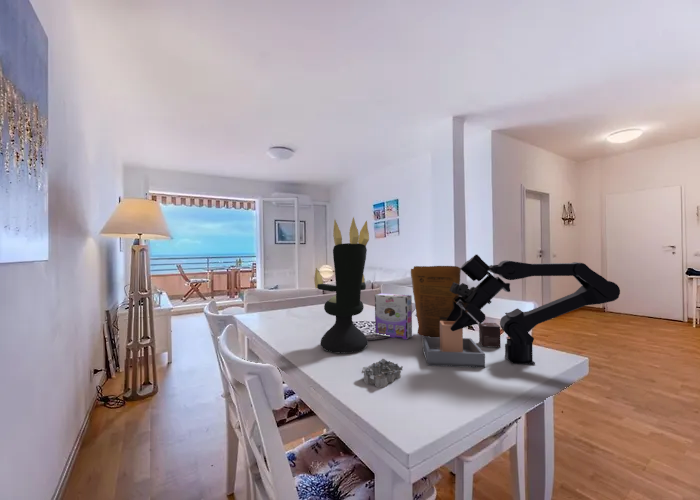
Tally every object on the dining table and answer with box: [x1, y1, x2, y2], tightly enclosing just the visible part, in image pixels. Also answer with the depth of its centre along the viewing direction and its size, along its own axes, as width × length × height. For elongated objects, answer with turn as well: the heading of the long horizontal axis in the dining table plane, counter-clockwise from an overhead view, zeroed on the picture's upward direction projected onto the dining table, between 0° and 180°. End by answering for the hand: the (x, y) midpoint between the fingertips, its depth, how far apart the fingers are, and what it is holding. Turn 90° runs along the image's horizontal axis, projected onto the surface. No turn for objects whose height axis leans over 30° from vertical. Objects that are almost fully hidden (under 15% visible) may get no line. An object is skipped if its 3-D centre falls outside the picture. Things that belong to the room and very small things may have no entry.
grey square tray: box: [422, 336, 486, 369], centre depth 99 cm, size 16×16×4 cm
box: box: [478, 322, 501, 348], centre depth 112 cm, size 6×6×7 cm
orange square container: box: [440, 321, 464, 352], centre depth 99 cm, size 6×6×10 cm
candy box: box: [374, 292, 413, 341], centre depth 124 cm, size 14×6×16 cm, turn 58°
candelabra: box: [313, 216, 370, 354], centre depth 108 cm, size 19×22×45 cm
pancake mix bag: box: [410, 265, 462, 337], centre depth 122 cm, size 7×19×28 cm, turn 55°
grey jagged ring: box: [361, 358, 404, 388], centre depth 83 cm, size 11×8×4 cm
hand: (448, 326), depth 99 cm, fingers open, 9 cm apart
